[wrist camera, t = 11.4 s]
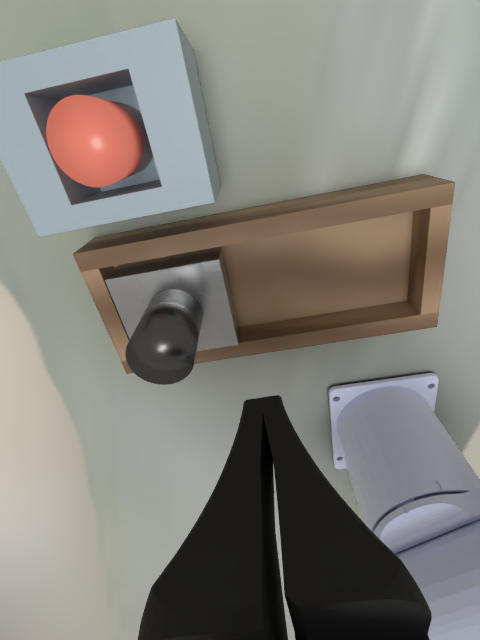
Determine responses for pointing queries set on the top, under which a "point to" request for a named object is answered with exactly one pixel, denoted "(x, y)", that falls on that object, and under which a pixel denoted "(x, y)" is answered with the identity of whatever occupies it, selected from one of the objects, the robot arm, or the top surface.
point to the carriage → (174, 311)
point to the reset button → (97, 140)
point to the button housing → (120, 86)
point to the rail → (305, 265)
